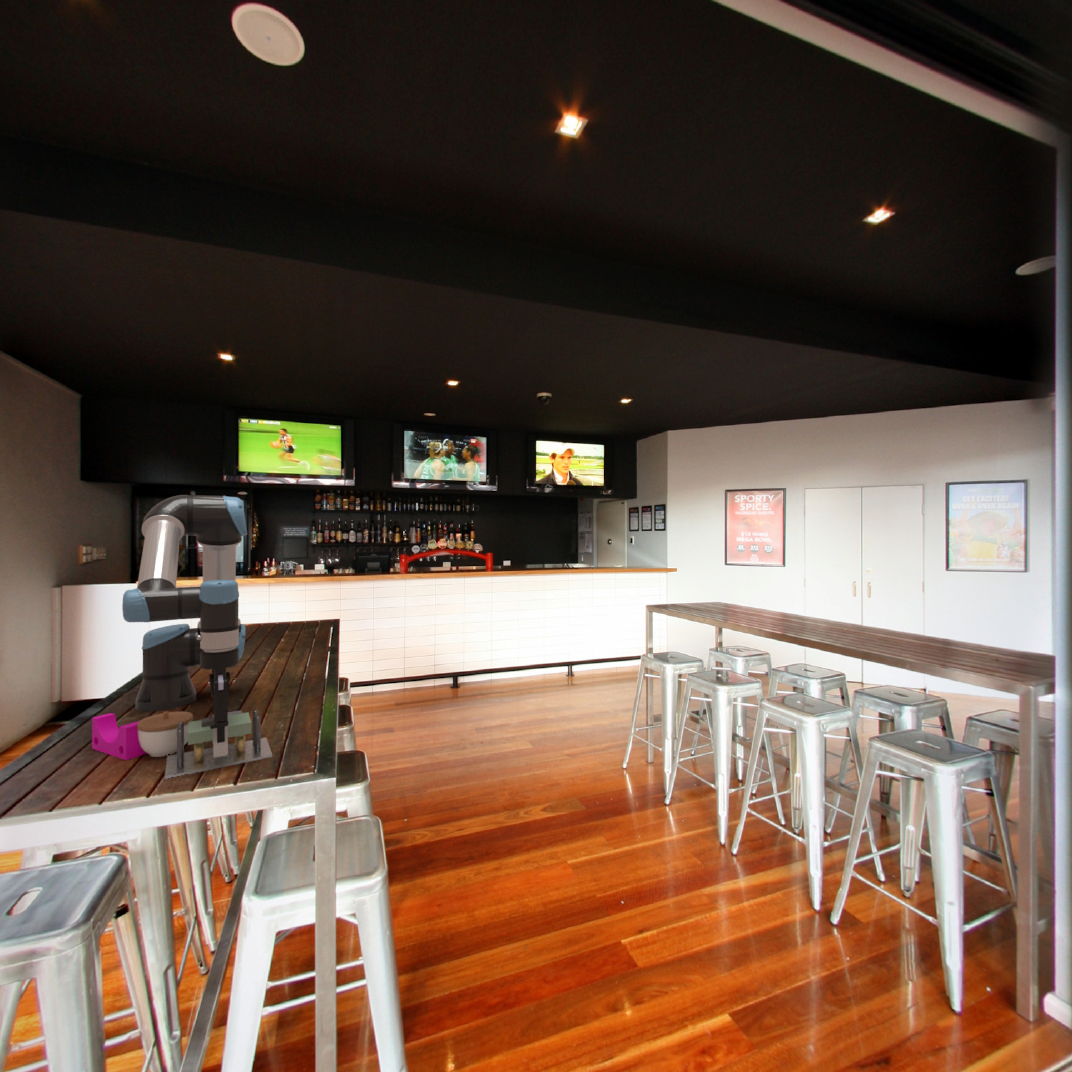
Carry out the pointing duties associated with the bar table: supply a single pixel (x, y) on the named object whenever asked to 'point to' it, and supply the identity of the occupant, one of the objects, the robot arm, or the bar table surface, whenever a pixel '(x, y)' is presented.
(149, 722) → the lidded jar
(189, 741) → the board
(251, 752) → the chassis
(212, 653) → the robot arm
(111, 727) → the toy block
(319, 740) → the bar table surface
